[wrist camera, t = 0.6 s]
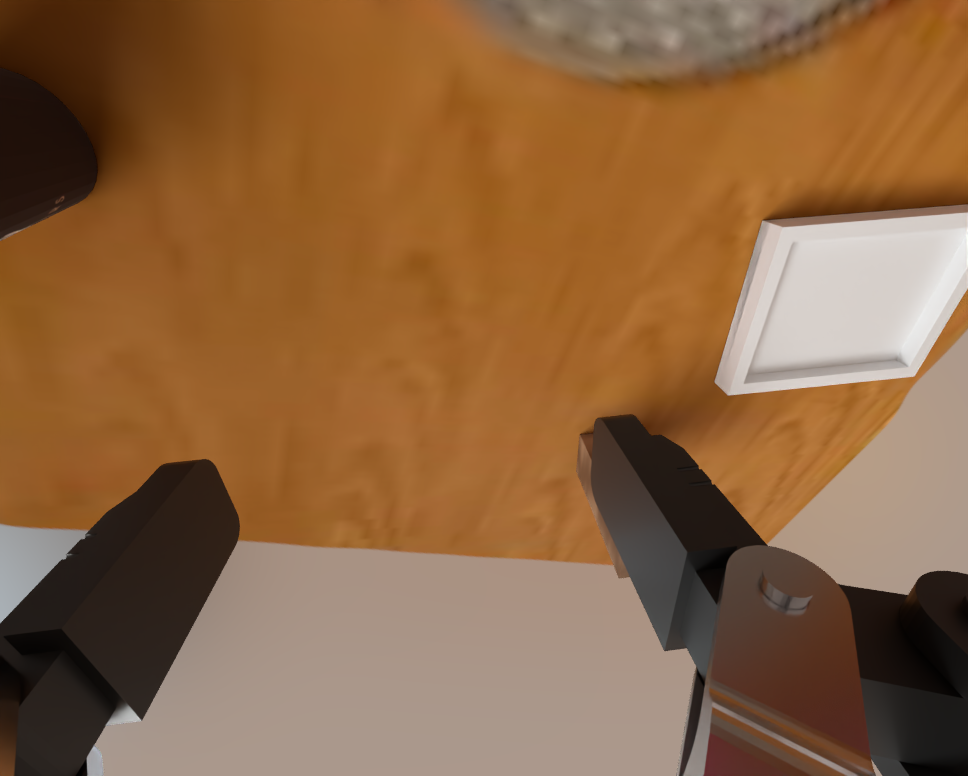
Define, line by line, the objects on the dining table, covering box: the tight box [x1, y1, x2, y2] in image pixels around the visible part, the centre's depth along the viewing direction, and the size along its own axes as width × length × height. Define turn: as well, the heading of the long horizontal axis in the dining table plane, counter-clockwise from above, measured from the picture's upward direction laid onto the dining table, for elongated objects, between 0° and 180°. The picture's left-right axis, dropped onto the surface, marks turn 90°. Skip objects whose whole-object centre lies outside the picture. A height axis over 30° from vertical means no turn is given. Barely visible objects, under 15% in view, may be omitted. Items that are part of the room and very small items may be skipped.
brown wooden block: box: [576, 433, 630, 578], centre depth 34 cm, size 4×4×11 cm
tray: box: [715, 204, 968, 395], centre depth 32 cm, size 13×16×2 cm
